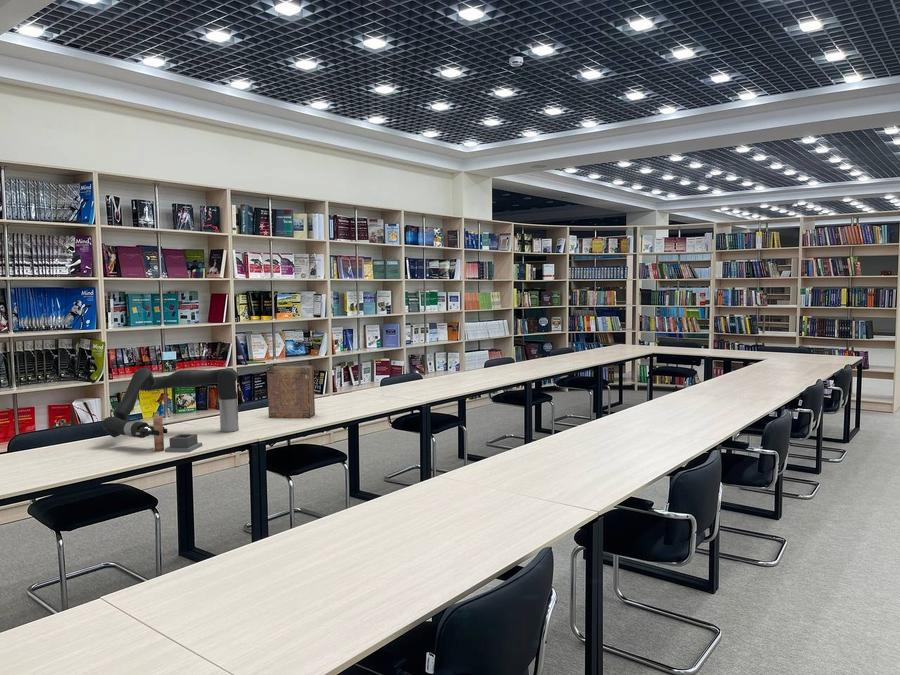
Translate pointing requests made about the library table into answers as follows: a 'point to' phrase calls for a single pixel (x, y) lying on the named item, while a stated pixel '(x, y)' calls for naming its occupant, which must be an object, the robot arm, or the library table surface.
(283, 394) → the book
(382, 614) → the library table surface
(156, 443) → the peg
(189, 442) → the socket board
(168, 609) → the library table surface
